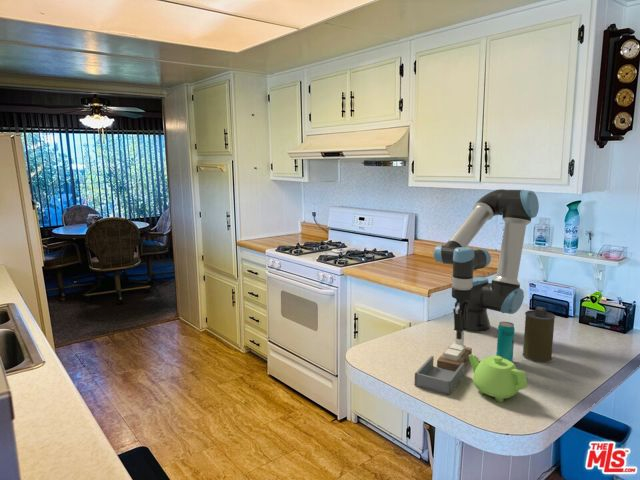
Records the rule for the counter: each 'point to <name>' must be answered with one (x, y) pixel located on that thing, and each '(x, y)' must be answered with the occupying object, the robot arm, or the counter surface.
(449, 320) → the counter surface
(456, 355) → the tile
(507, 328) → the beverage can
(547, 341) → the canister
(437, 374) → the tray
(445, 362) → the walnut board
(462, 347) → the tile
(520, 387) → the teapot
